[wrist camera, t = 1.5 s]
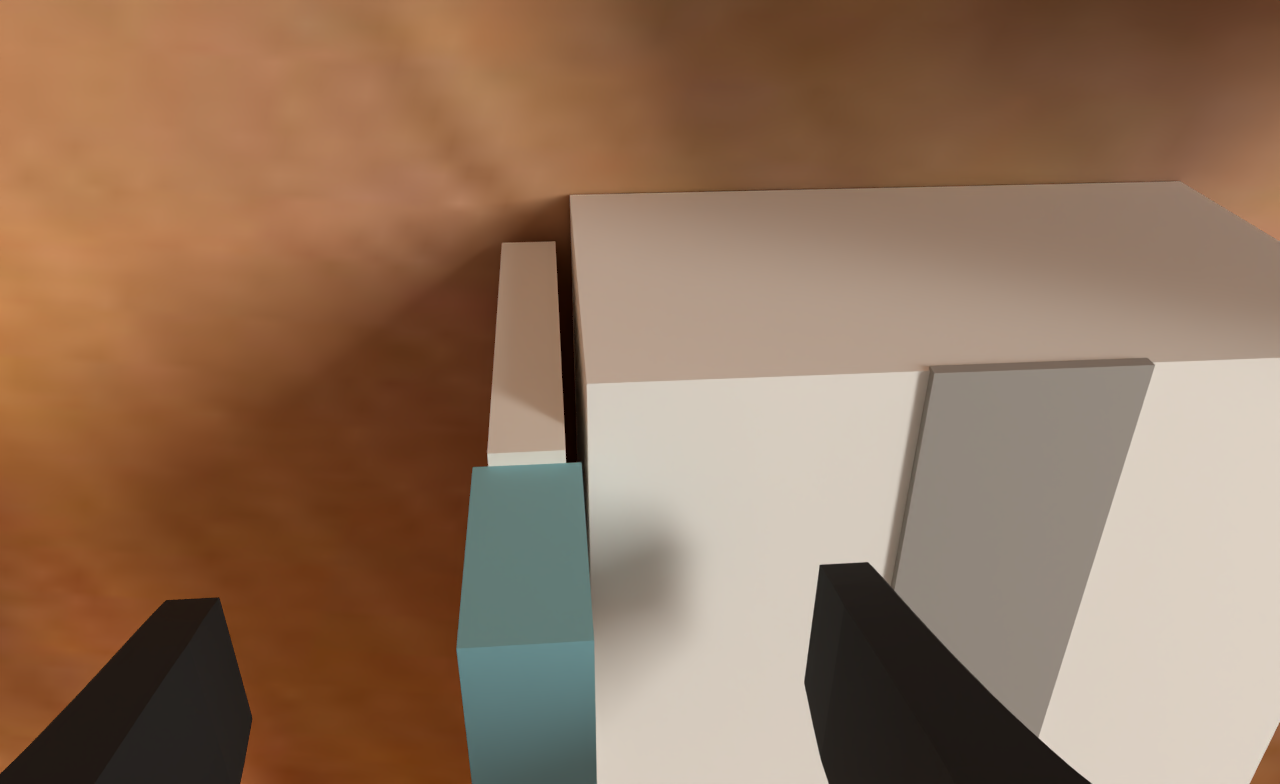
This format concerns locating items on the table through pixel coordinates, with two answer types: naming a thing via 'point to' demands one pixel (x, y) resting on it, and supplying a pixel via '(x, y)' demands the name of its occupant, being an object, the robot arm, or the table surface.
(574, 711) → the green beige flat block
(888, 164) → the table surface
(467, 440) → the table surface
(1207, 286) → the carton
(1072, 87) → the table surface
